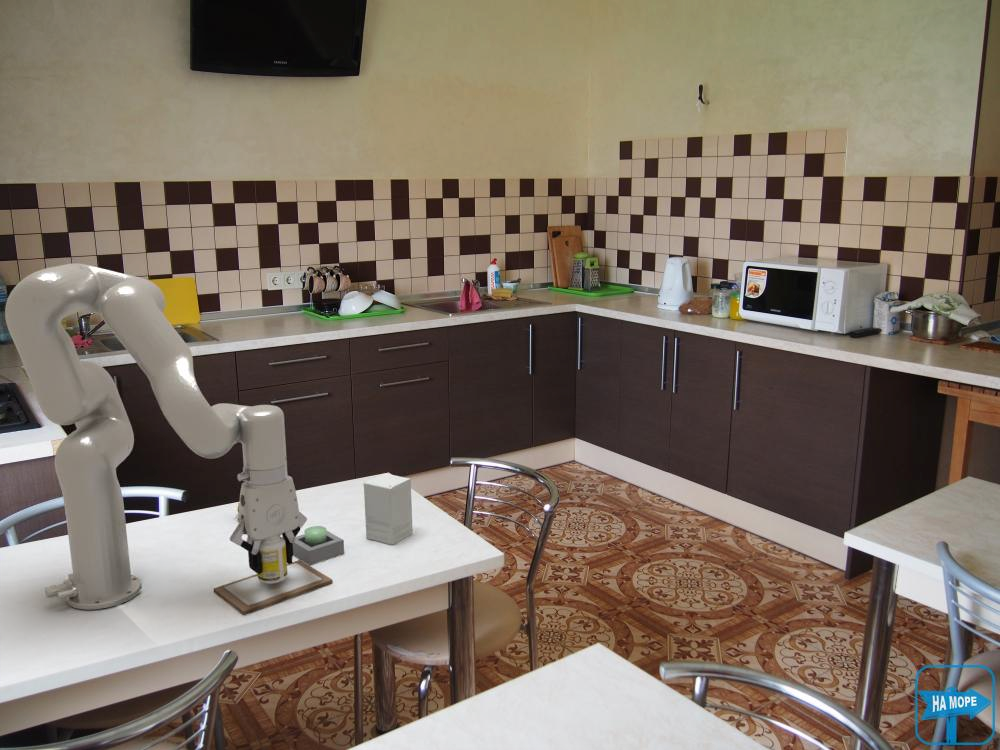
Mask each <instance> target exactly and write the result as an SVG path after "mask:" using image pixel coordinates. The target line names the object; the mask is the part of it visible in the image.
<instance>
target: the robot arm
mask: <svg viewBox="0 0 1000 750" xmlns="http://www.w3.org/2000/svg"><path fill="white" fill-rule="evenodd" d="M4 308H5V309H4V316H5V317H4V318H5V323H6V327H7V330H8V333H9V335H10V336H11V339H12V341H13V343H14V346H15V348H16V350H17V353H18V354H19V356H20V360H21V362H22V364H23V368H24V370H25V372H26V373H25V374H26V375H27V378H28V380H29V382H30V385H31V388H32V390H33V393H34V394H35V398H36V400H37V403H38V405H39V408H40V410H41V411H42V413H43V416H45V418H46V419H47V420H48V421H50V422H51V423H53V424H55V425H59V426H69V425H73V424H74V425H75V428H76V429H75V430H74V431H72V432H71V433H69V434H68V435H66V437H65V438H64V439H63V440H62V441H61V442H60V444H59V446H58V447H57V450H56V452H55V455H54V469H55V473H56V476H57V480H58V483H59V486H60V489H61V492H62V493H61V494H62V499H63V505H64V513H65V520H66V527H67V528H66V529H67V535H68V542H69V543H68V545H69V552H70V559H71V568H72V573H69V574H68V575H67V577H68V579H67V580H63V582H62V583H59V584H55V585H52V586H47V587H45V588H44V594H45V597H46V599H48V600H49V599H51V598H54V597H57V600H58V601H60V600H64V599H65V600H66V604H68V605H69V606H70V607H73V609H78V610H87V611H88V610H89V611H90V610H101V609H107V608H111V607H115V606H117V605H121V604H123V603H126V602H128V601H129V600H132V599H133V598H135V597H136V596H137V595H138V594H139V593H140V591H141V590H142V581H141V579H140V578H139V577H138V576H136V575H133V574H132V571H131V562H130V561H131V560H130V553H129V541H128V534H127V522H126V515H125V505H124V497H123V492H122V488H121V486H120V485H121V484H120V483H119V480H118V477H117V467H119V465H120V464H121V463H123V462H124V461H125V460H126V459H127V457H129V456H130V454H131V452H132V451H133V448H134V444H135V443H134V442H135V438H134V437H135V435H134V431H133V427H132V424H131V422H130V418H129V416H128V414H127V411H126V408H125V406H124V403H123V401H122V398H121V396H120V392H119V390H118V388H117V385H116V383H115V381H114V379H113V377H112V376H111V375H110V373H109V372H108V371H107V370H106V369H105V368H104V367H102V366H101V365H99V364H98V363H96V362H93V361H88V360H82V361H81V359H80V357H79V354H78V353H77V349H76V346H75V343H74V341H73V339H72V337H71V336H70V334H69V333H68V332H67V331H66V329H65V328H64V326H63V324H62V320H63V319H64V318H66V317H67V316H70V315H74V314H76V313H80V312H86V313H90V314H95V315H100V316H101V318H102V320H103V321H104V323H105V325H106V326H107V327H108V328H109V329H110V331H111V332H112V334H113V335H114V336H115V337H116V339H117V340H118V341H119V342H120V343H121V345H122V346H123V347H124V348H125V350H126V351H127V352H128V353H129V355H130V356H131V358H133V360H134V361H135V362H136V364H137V366H139V368H140V369H141V370H142V372H143V373H144V375H146V377H147V379H148V380H149V381H148V382H150V387H151V389H152V391H153V394H154V396H155V398H156V401H157V403H158V406H159V408H160V410H161V412H162V414H163V416H164V418H165V419H166V420H167V422H168V424H169V425H170V426H171V428H173V430H174V431H175V433H176V434H177V435H178V436H179V437H180V439H181V441H183V443H184V444H185V445H186V447H188V448H189V449H190V451H192V452H193V453H194V454H196V455H198V456H200V457H201V458H205V459H217V458H221V457H222V456H224V455H226V454H227V453H228V452H229V451H230V450H231V449H232V448H233V446H234V445H236V444H237V443H240V444H241V445H242V447H241V448H242V458H243V459H242V460H243V461H242V463H243V467H242V472H240V473H238V474H237V476H236V477H237V480H238V482H242V481H243V482H242V483H241V488H240V493H239V502H238V503H239V513H238V515H239V520H238V521H239V523H238V525H237V526H236V528H235V529H234V531H233V532H232V533H231V535H230V536H229V540H230V542H232V543H234V544H235V545H237V546H239V547H241V548H243V549H244V550H245V551H247V555H248V567H249V568H250V570H252V571H253V572H254V573H256V574H261V573H262V558H261V553H259V552H258V550H259V546H260V541H261V540H263V539H266V538H270V537H273V536H276V535H280V534H281V537H282V538H284V540H285V544H286V559H287V564H291V563H292V562H293V557H294V555H293V542H294V541H295V537H297V536H298V534H299V533H300V532H301V528H303V526H304V525H305V524H306V522H307V521H308V517H307V516H305V515H304V514H303V513H302V512H301V511H300V509H299V508H300V507H299V501H298V495H297V491H296V488H295V487H296V486H295V484H294V479H293V477H292V476H290V475H288V462H287V446H286V445H287V444H286V429H285V428H286V427H285V414H284V411H283V410H282V409H281V408H280V407H279V406H277V405H271V404H259V405H253V406H249V405H241V404H233V403H225V402H224V403H222V402H221V403H217V404H213V405H212V406H211V405H210V403H209V402H208V401H207V399H206V397H204V395H203V393H202V392H201V390H200V387H199V386H198V383H197V380H196V377H195V372H194V359H193V354H192V350H191V348H190V347H189V345H188V344H187V343H186V342H185V341H184V339H183V337H182V336H181V335H180V334H179V333H178V332H177V330H176V329H175V328H174V326H173V325H172V324H171V323H170V321H169V320H168V318H167V317H166V316H165V314H164V312H165V309H166V297H165V295H164V292H163V291H162V290H161V288H160V287H159V286H158V285H157V284H155V283H154V282H152V281H150V280H148V279H146V278H143V277H140V276H135V275H131V274H127V273H122V272H118V271H114V270H111V269H105V268H101V267H98V266H94V265H89V264H85V263H66V264H62V265H57V266H56V265H55V266H51V267H47V268H42V269H40V270H37V271H34V272H32V273H31V274H28V275H27V276H26V277H24V278H23V279H22V280H20V281H19V282H18V283H17V284H16V285H15V286H14V288H13V289H12V290H11V291H10V294H9V295H8V297H7V299H6V303H5V307H4ZM243 535H247V538H246V540H245V539H243V538H242V537H243Z"/></svg>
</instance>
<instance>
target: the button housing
mask: <svg viewBox="0 0 1000 750" xmlns="http://www.w3.org/2000/svg"><path fill="white" fill-rule="evenodd" d="M344 541H345V540H344V539H343V538H341V537H339V536H338V535H335V534H334V533H332V532H330V531H328V530H327V540H326V541H325V542H322V543H318V544H309V543H306V542H305V533H304V534H301V535H297V536H296V537H295V541H294V542H293V557H295V558H297V559H298V560H301V561H303V562H304V563H306V564H308V565H309V566H311V565H315V564H318V563H321V562H323V561H327V560H330V559H332V558H335V557H338V556H342V555H344V554H345V545H344V543H345V542H344Z"/></svg>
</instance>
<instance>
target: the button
mask: <svg viewBox="0 0 1000 750" xmlns="http://www.w3.org/2000/svg"><path fill="white" fill-rule="evenodd" d="M327 531H328V530H327V527H326V526H322V525H313V526H309V527H307V528H305V530H304V532H303V533H304V534H305V542H306V543H309V544H318V543H322V542H325V541H326V540H327Z"/></svg>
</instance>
